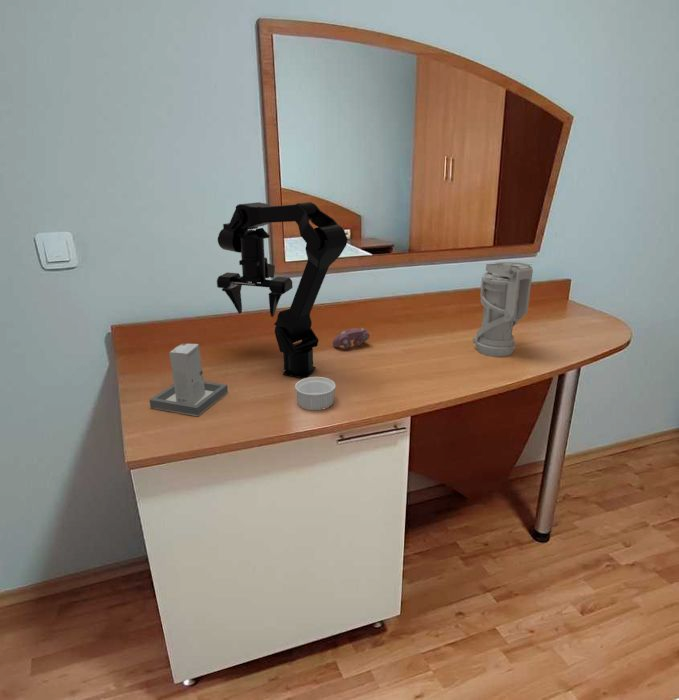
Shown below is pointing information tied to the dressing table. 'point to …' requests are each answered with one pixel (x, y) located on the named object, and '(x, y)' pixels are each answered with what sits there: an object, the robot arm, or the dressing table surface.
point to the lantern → (502, 306)
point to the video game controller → (351, 337)
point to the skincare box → (187, 373)
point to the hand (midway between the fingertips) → (256, 314)
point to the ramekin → (315, 392)
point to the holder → (168, 403)
